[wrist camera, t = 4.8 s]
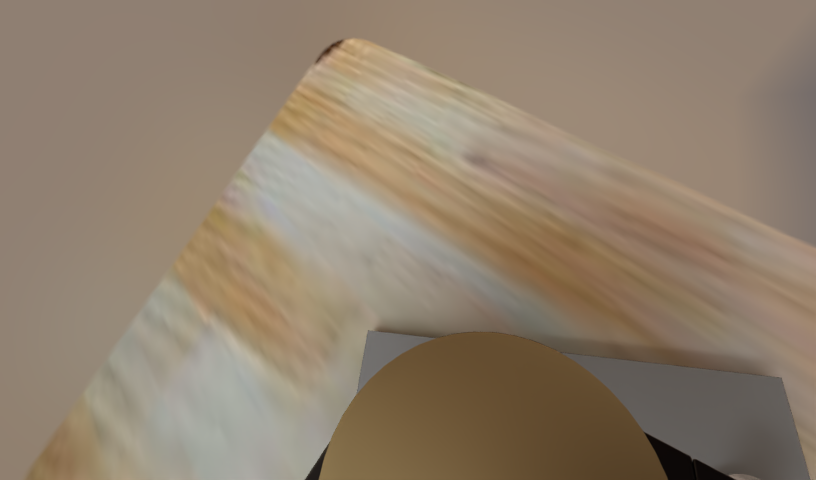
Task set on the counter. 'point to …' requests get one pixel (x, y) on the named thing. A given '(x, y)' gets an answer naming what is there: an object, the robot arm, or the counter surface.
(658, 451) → the robot arm
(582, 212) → the counter surface
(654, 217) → the counter surface
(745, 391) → the board
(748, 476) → the steel pin
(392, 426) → the walnut peg
